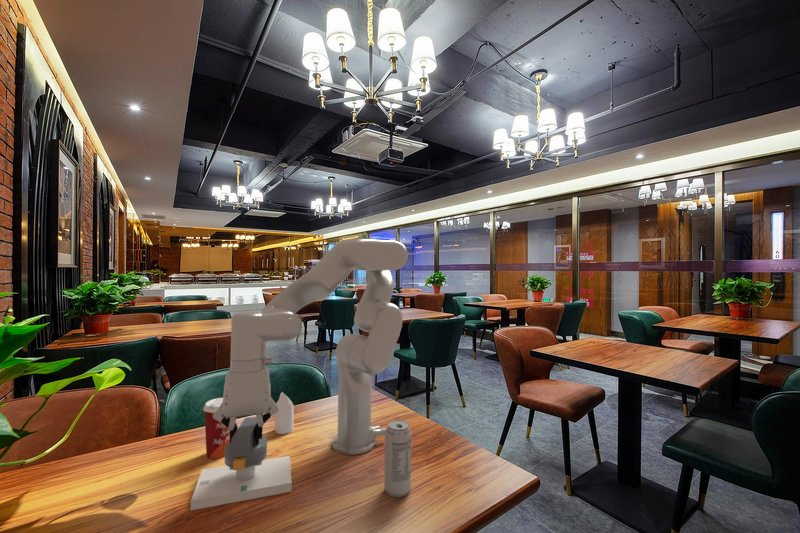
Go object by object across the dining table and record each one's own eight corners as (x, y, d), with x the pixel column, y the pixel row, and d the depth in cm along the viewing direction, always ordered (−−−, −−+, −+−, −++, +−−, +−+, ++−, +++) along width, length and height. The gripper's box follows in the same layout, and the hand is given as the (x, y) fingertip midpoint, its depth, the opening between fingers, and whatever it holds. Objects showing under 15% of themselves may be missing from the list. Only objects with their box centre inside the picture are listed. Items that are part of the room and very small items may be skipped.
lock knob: (233, 446, 86) (233, 418, 86) (271, 444, 87) (271, 416, 87) (215, 474, 74) (216, 441, 74) (260, 470, 76) (260, 438, 76)
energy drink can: (404, 480, 84) (406, 417, 84) (414, 495, 78) (415, 428, 78) (381, 485, 82) (382, 421, 82) (389, 501, 76) (390, 432, 76)
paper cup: (220, 463, 90) (222, 408, 90) (195, 459, 91) (196, 405, 91) (240, 448, 97) (241, 397, 97) (216, 444, 99) (217, 395, 99)
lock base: (289, 463, 90) (290, 440, 90) (291, 491, 79) (291, 464, 79) (202, 477, 83) (202, 452, 83) (190, 510, 72) (191, 481, 72)
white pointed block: (298, 391, 110) (284, 396, 105) (297, 429, 109) (283, 436, 105) (284, 387, 112) (270, 392, 108) (283, 424, 112) (269, 431, 107)
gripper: (285, 358, 87) (283, 431, 87) (210, 363, 82) (208, 441, 82) (286, 366, 80) (284, 445, 80) (204, 372, 75) (202, 457, 75)
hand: (246, 442), depth 81 cm, fingers open, 4 cm apart
